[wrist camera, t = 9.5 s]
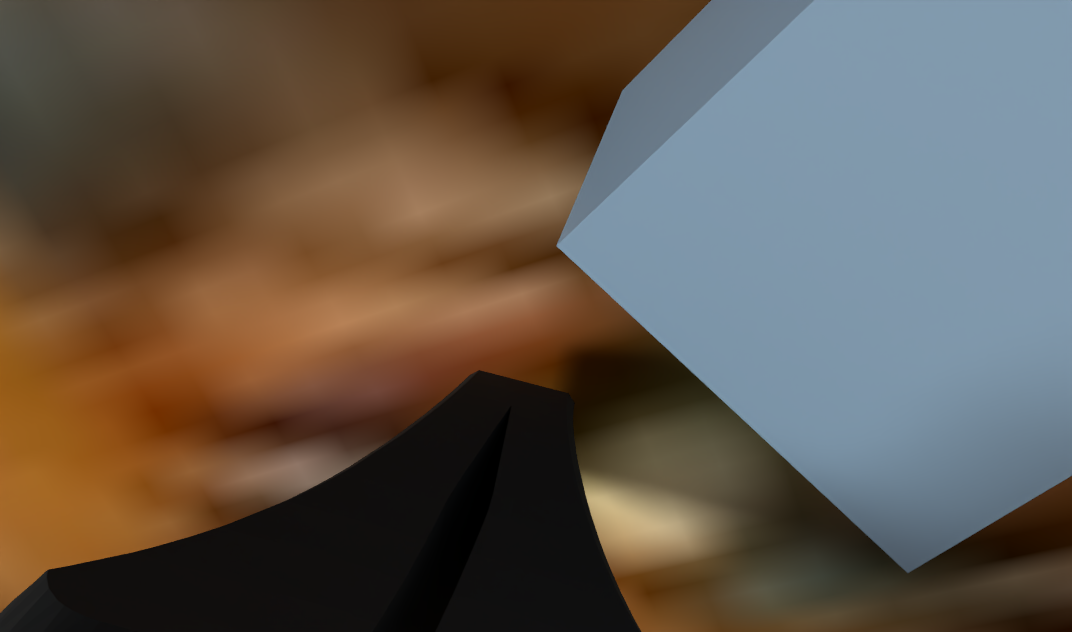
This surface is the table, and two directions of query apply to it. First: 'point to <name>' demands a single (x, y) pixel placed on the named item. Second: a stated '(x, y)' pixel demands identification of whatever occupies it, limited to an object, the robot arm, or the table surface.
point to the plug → (859, 244)
